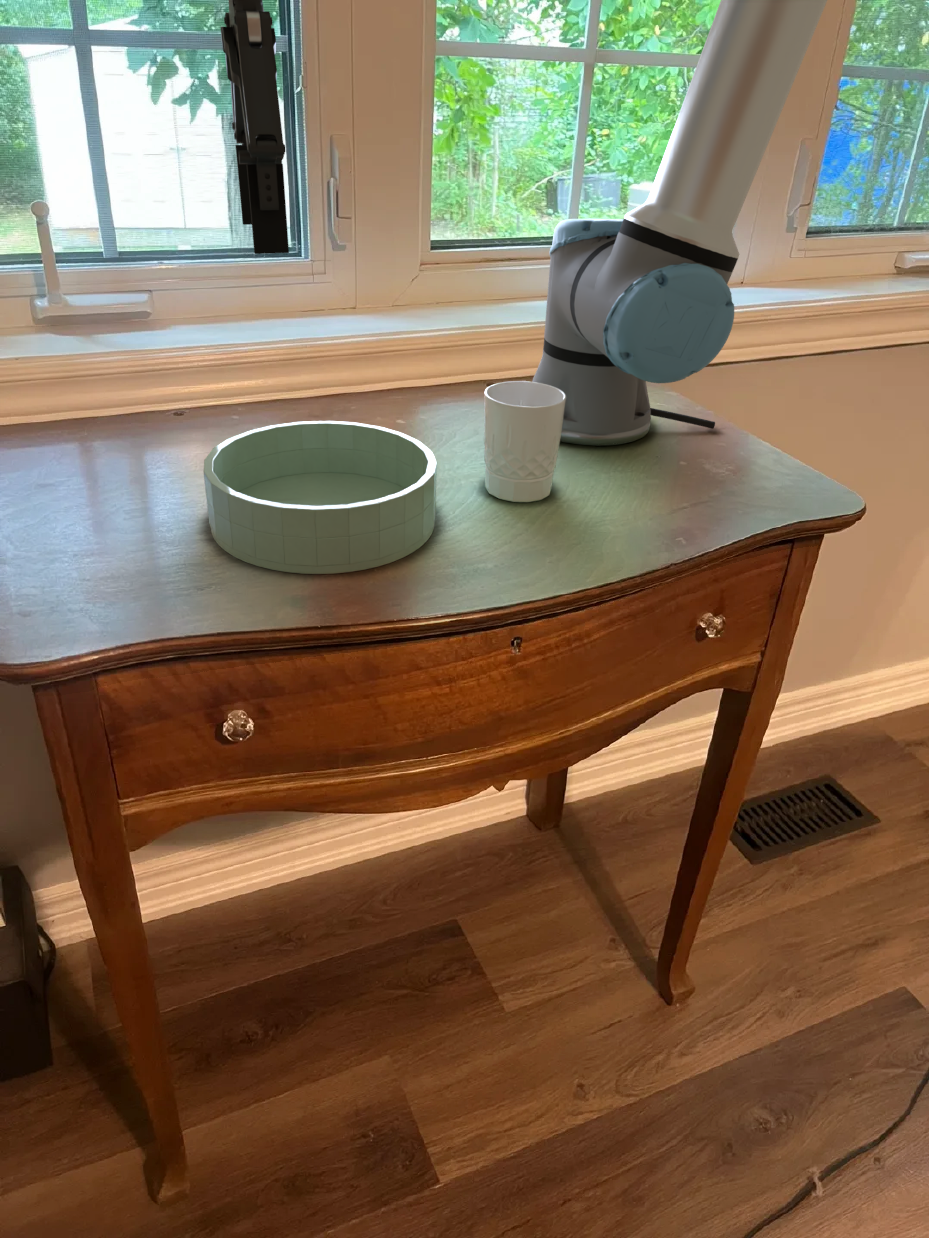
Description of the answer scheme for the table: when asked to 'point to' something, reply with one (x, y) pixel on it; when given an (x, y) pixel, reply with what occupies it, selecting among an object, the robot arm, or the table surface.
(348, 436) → the bowl
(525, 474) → the white cup
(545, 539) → the table surface
